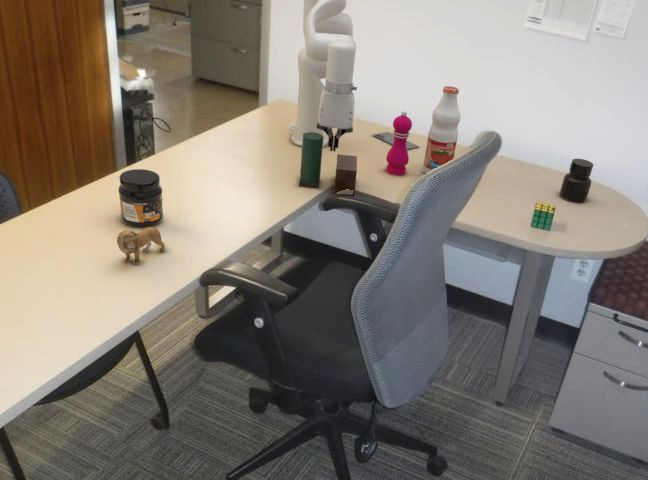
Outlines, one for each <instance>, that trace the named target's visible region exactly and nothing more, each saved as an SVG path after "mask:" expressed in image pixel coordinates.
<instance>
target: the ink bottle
mask: <svg viewBox="0 0 648 480" xmlns="http://www.w3.org/2000/svg"><path fill="white" fill-rule="evenodd" d="M593 168H594V163H593V162H591V161H590V160H587V159H584V158H573V159H572V161H571V163H570V166H569V172H568V173H565V175H564V176H563V180H562V184H561V186H560V190H559V197H561V198H562V199H563V200H566V201H570V202H573V203H585V201H587V199H588V195H589V193H590V189H591V185H592V179H591V175H592V172H593Z"/></svg>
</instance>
